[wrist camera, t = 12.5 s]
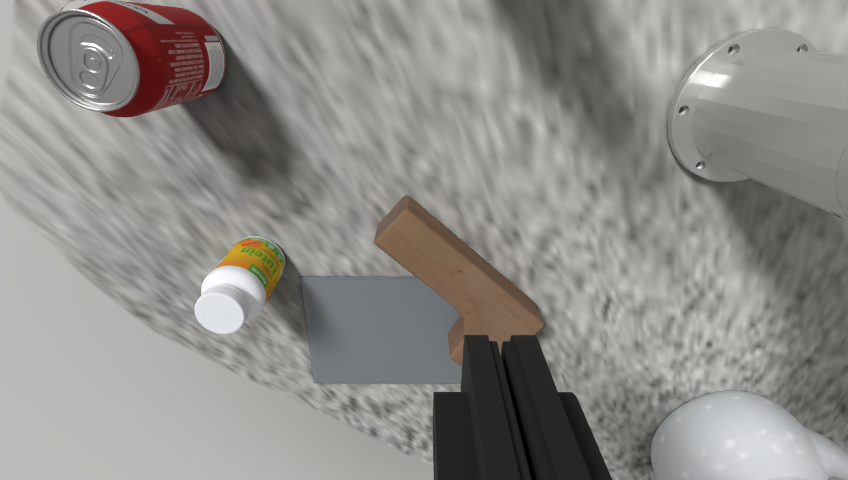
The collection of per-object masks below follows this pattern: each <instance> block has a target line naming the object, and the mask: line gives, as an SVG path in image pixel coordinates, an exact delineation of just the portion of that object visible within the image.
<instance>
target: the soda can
mask: <svg viewBox="0 0 848 480" xmlns="http://www.w3.org/2000/svg"><path fill="white" fill-rule="evenodd" d="M37 52H38V57H39V61H40V64H41V66H42V69H43V71H44V73H45V74H46V76H47V78H48V79H49V81H50V82H51V83H52V85H53V86H54V87H55V88H56V89H57V90H58V91H59V92H60V93H61V94H62V95H63V96H64V97H66V98H67V99H68V100H70V101H71V102H73V103H74V104H76V105H78V106H80V107H83V108H85V109H89V110H92V111H99V112H101V113H104V114H107V115H110V116H115V117H133V116H137V115H141V114H144V113H148V112H152V111H155V110H159V109H162V108H166V107H169V106H173V105H176V104H180V103H183V102H187V101H190V100H194V99H197V98H201V97H204V96H207V95H209V94H211V93H212V92H214V91H215V90H216V89H217V88H218V87H219V85H220V84H221V82H222V80H223V78H224V75H225V72H226V54H225V50H224V46H223V44H222V42H221V39H220V37H219V36H218V34H217V33H216V31H215V30H214V29H213V27H212V26H211V25H210V24H209V23H208V22H207V21H206V20H205V19H203V18H202V17H201V16H199V15H197V14H196V13H194V12H192V11H189V10H186V9H183V8H177V7H168V6H159V5H150V4H141V3H132V2H123V1H114V0H76V1H74V2H71V3H69V4H68V5H66V6H65V7H63V8H62V9H61V10H60V11H58V12H55V13H53V14H52V15H50V16H49V17H48V18H47V19H46V20H45V21H44V22H43V24H42V25H41V27H40V30H39V33H38V37H37Z"/></svg>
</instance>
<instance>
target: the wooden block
mask: <svg viewBox="0 0 848 480" xmlns="http://www.w3.org/2000/svg"><path fill="white" fill-rule="evenodd" d="M374 243H375V245H377V246H378V247H379V248H380V249H382V250H383V251H384V252H385V253H387V254H388V255H389V256H390V257H392V258H393V259H394V260H395V261H397V262H398V263H399V264H401V265H402V266H403V267H404V268H406V269H407V270H408V271H409V272H411V273H412V274H413V275H414V276H416V277H417V278H418V279H419V280H421V281H422V282H423V283H424V284H426V285H427V286H428V287H430V288H431V289H432V290H433V291H435V292H436V293H437V294H438V295H440V296H441V297H442V298H443V299H445V300H446V301H447V302H448V303H450V304H451V305H452V306H453V307H454V308H455V309H456V311H457V312H458V314H459V315H460V318H459V319H458V320H457V321H456V323H455V324H454V325H453V327H452V328H451V329H450V331H449V332H448V342H449V352H450V357H451V359H452V360H453V361H455V362H456V363H457V364H459V365H460V366H461V367H462V361H463V344H464V335H488V337H489V341H497V343H498V347H499V351H500V355H501V349H502V343H503V341H510V337H511V335H536V334H537V333H538V332H539V331H540V330H542V329H543V328H544V326H545V324H544V322H543V320H542V318H541V316H540V314H539V311H538V309H537V307H536V305H535V303H534V302H533V301H532V300H531V299H530V298H529V297H527V296H526V295H525V294H524V293H523V292H521V291H520V290H519V289H518V288H517V287H516V286H514V285H513V284H512V283H511V282H510V281H508V280H507V279H506V278H505V277H504V276H503V275H501V274H500V273H499V272H498V271H497V270H496V269H494V268H493V267H492V266H491V265H490V264H489V263H487V262H486V261H485V260H484V259H483V258H482V257H480V256H479V255H478V254H477V253H476V252H475V251H473V250H472V249H471V248H470V247H469V246H468V245H466V244H465V243H464V242H463V241H462V240H461V239H459V238H458V237H457V236H456V235H455V234H453V233H452V232H451V231H450V230H449V229H448V228H446V227H445V226H444V225H443V224H442V223H441V222H439V221H438V220H437V219H436V218H435V217H434V216H432V215H431V214H430V213H429V212H428V211H427V210H425V209H424V208H423V207H422V206H421V205H419V204H418V203H417V202H416V201H415V200H414V199H412V198H411V197H410V196H407V195H406V196H404V197H403V198H402V199H401V200H400V201H399V202H398V204H397V205H396V206H395V207H394V208H393V209H392V210H391V211H390V212H389V213H388V215H387V216H386V217H385V218H384V219H383V220H382V221H381V222H380V223H379V225H378V228H377V232H376V236H375V240H374Z"/></svg>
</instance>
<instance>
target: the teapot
mask: <svg viewBox="0 0 848 480" xmlns="http://www.w3.org/2000/svg"><path fill="white" fill-rule="evenodd" d="M650 454H651V462H652V466H653V469H654V470H651V471H650V478H651V480H828V478H829V477H837V478H840V479H844V480H848V453H847V452H846V451H844V450H843V449H842V448H840V447H839V446H838V445H836V444H835V443H833V442H832V441H830V440H829V439H827V438H826V437H824V436H822V435H820V434H819V433H817V432H815V431H813V430H811V429H808V428H806V427H804V426H803V425H802V424H801V423H800V422H799V421H798V420H797V419H796V418H795V417H793V416H792V415H791V414H790V413H789V412H788V411H786V410H785V409H784V408H783V407H781V406H780V405H778V404H777V403H775V402H773V401H772V400H770V399H768V398H766V397H763V396H760V395H757V394H754V393H750V392H744V391H721V392H715V393H711V394H707V395H704V396H701V397H698V398H696V399H693V400H691V401H689V402H687V403H685V404H683V405H682V406H680V407H679V408H677V409H676V410H675V411H673V412H672V413H671V414H670V415H669V416H667V417H666V418H665V420H664V421H663V422H662V423H661V424H660V426H659V427H658V429H657V430H656V432H655V434H654V437H653V439H652V443H651V450H650Z"/></svg>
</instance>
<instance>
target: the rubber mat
mask: <svg viewBox="0 0 848 480" xmlns="http://www.w3.org/2000/svg"><path fill="white" fill-rule="evenodd" d="M300 279H301V286H302V294H303V302H304V310H305V317H306V325H307V333H308V341H309V349H310V356H311V364H312V372H313V380H314V383H424V384H461V378H462V367H461V366H460V365H459V364H457V363H456V362H455V361H453V360H452V359H451V357H450V352H449V342H448V332H449V331H450V329H451V328H452V327H453V325H454V324H455V323H456V321H457V320H458V319H459V318H460V315H459V314H458V312H457V311H456V309H455V308H454V307H453V306H452V305H451V304H450V303H448V302H447V301H446V300H445V299H443V298H442V297H441V296H440V295H438V294H437V293H436V292H435V291H433V290H432V289H431V288H430V287H428V286H427V285H426V284H424V283H423V282H422V281H421V280H419V279H418V278H417V277H337V276H301V278H300Z"/></svg>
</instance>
